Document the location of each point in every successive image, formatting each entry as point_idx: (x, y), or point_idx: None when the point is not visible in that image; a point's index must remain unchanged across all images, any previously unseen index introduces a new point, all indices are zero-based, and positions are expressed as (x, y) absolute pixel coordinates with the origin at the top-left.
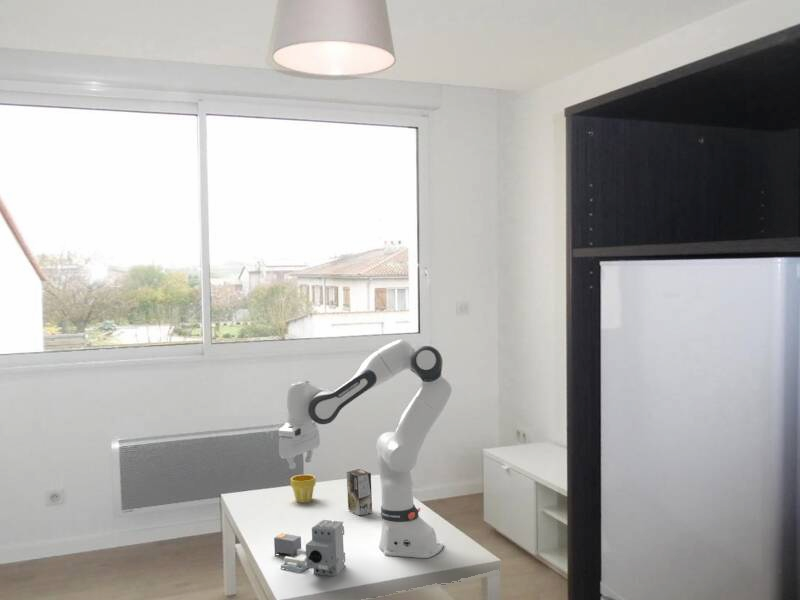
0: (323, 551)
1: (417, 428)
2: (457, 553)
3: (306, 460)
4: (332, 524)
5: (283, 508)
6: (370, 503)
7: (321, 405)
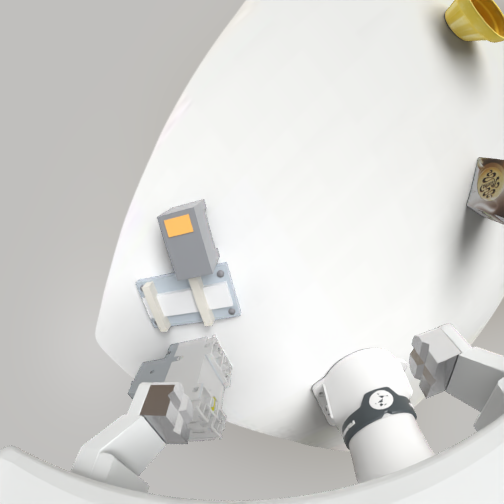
0: None
1: None
2: None
3: (421, 356)
4: (192, 432)
5: (404, 4)
6: (497, 221)
7: None
